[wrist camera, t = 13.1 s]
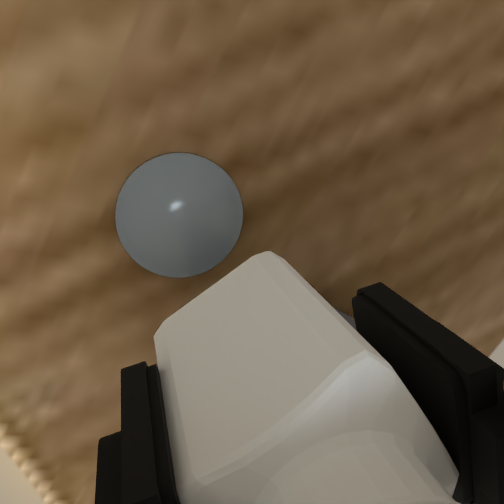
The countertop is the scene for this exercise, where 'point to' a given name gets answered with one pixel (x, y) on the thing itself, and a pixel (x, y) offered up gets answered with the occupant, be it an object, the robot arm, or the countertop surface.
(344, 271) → the countertop surface
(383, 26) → the countertop surface
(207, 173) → the grey round dome
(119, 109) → the countertop surface
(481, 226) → the countertop surface
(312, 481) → the pepper shaker
